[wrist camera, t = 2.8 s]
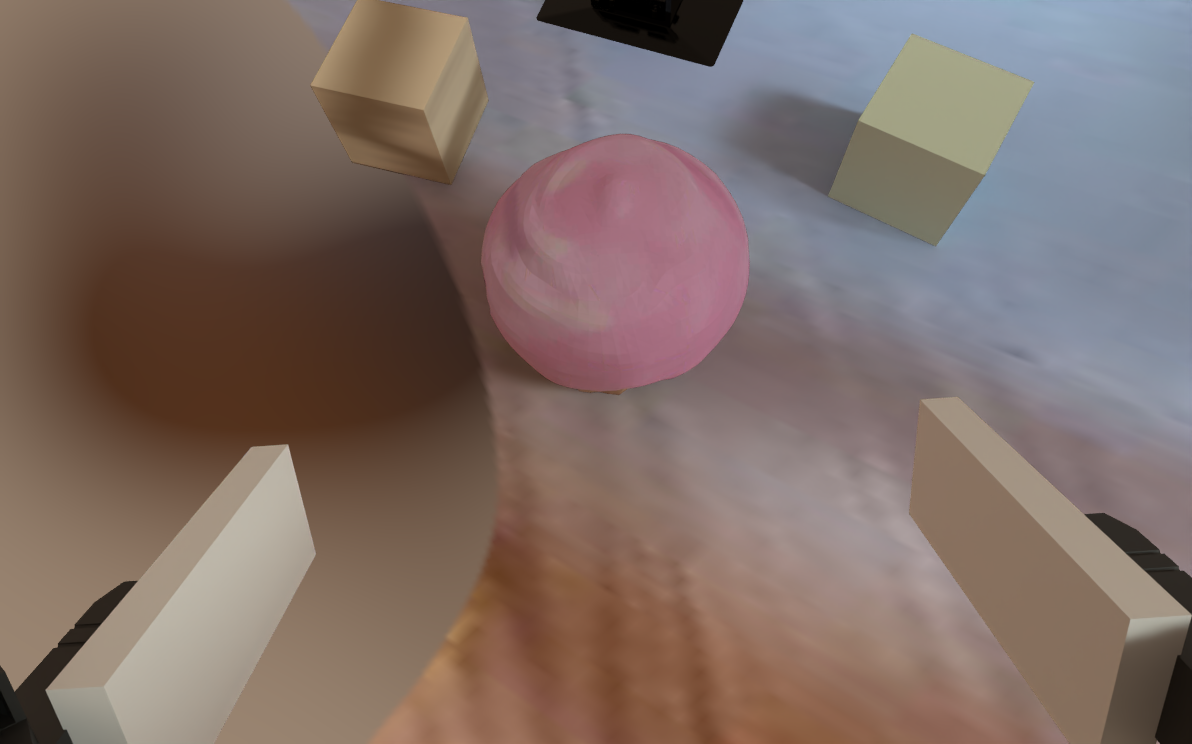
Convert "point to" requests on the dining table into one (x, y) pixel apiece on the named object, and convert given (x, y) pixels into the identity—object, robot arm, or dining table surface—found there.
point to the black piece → (651, 24)
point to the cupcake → (615, 264)
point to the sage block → (927, 138)
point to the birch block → (403, 89)
